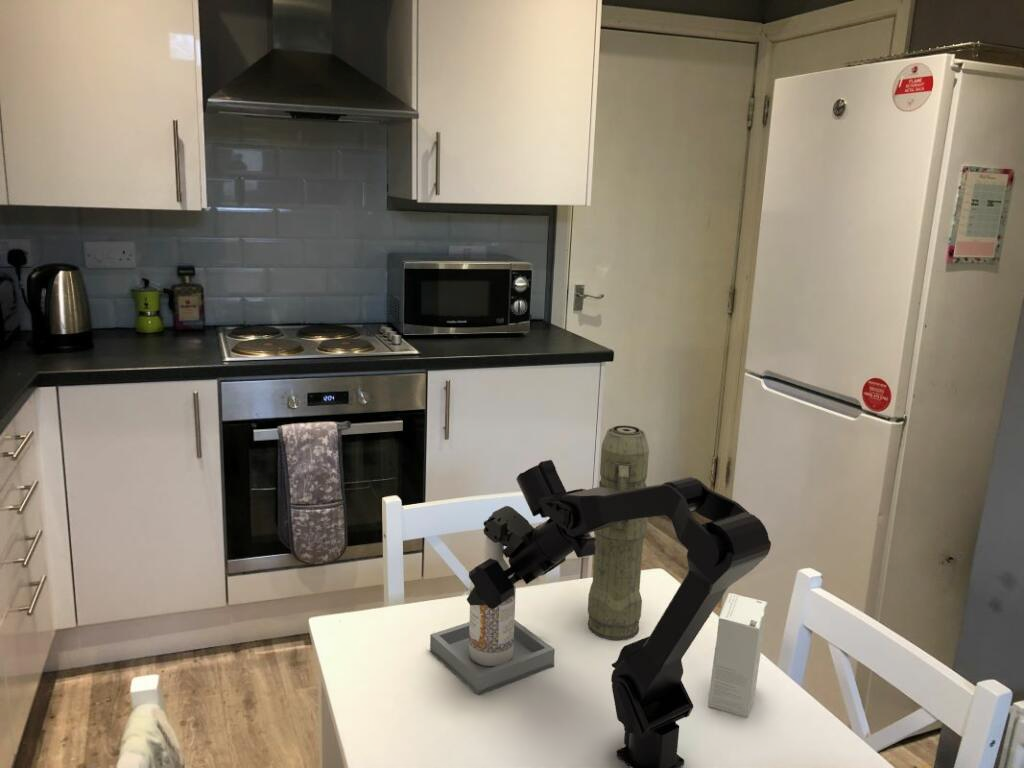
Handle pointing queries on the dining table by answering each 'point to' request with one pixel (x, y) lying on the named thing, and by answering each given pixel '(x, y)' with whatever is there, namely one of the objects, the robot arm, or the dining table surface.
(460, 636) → the grey square tray
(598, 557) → the thermos
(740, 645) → the skincare box
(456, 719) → the dining table surface
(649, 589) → the dining table surface
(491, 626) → the bath foam
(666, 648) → the robot arm
